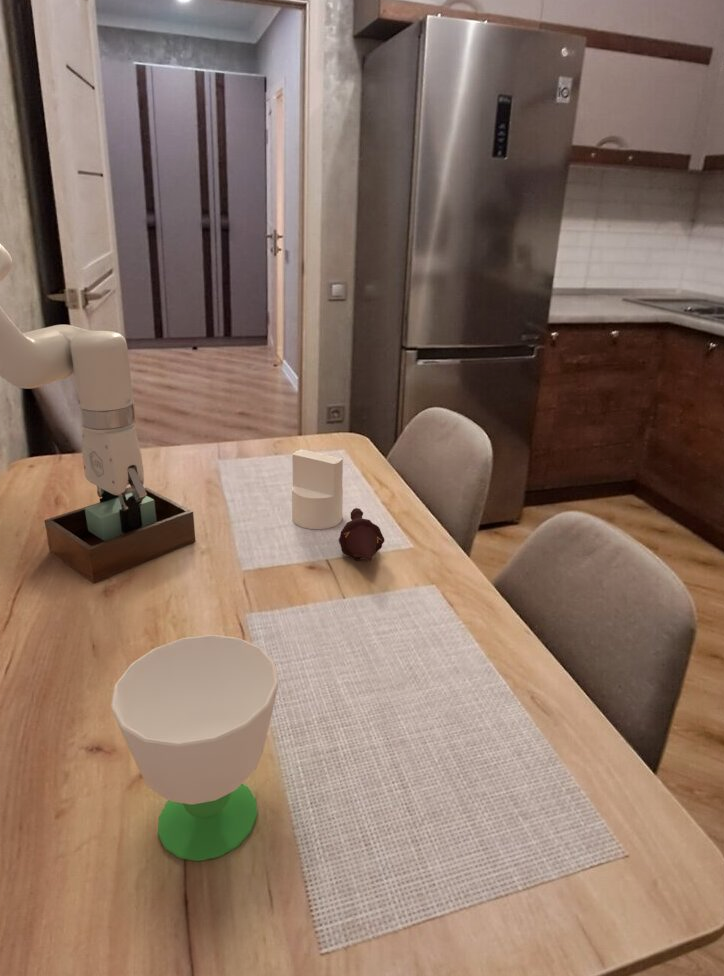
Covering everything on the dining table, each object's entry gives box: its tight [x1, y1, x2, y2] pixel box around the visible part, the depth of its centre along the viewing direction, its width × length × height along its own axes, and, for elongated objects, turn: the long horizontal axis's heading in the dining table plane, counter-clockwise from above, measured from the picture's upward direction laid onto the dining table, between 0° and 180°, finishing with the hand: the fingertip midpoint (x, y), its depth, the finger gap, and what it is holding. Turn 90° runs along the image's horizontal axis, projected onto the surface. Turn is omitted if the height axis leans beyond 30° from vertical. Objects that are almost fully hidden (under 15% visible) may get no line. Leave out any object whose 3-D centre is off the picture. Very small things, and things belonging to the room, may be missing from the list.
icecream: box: [338, 507, 385, 562], centre depth 108 cm, size 7×7×15 cm
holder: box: [44, 486, 196, 584], centre depth 107 cm, size 14×18×6 cm
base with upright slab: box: [291, 448, 344, 530], centre depth 119 cm, size 9×9×12 cm
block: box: [85, 493, 157, 541], centre depth 106 cm, size 5×9×4 cm, turn 141°
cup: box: [110, 634, 279, 862], centre depth 60 cm, size 14×14×16 cm
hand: (122, 522), depth 107 cm, fingers closed on block, 5 cm apart
